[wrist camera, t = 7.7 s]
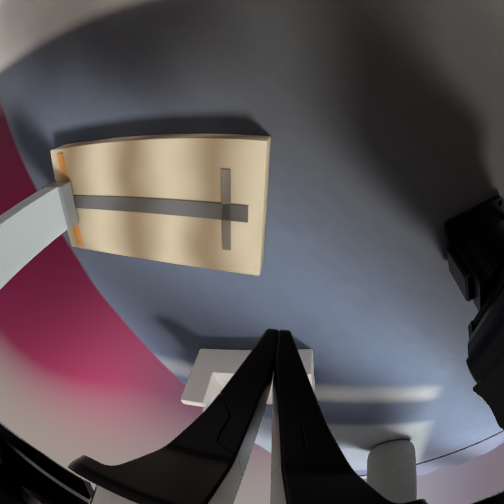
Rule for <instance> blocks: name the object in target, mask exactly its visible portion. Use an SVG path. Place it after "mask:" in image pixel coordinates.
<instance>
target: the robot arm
mask: <svg viewBox="0 0 504 504" xmlns="http://www.w3.org/2000/svg"><path fill="white" fill-rule="evenodd" d="M499 201H500V202H499ZM498 202H499V203H498ZM451 225H452V227H451V228H449V227H450V226H451ZM444 228H445V233H446V237H447V242H448V247H447V249H446V253H447V258H448V264H449V270H450V272H451V274H452V276H453V278H454V280H455V281H456V283H457V285H458V286H459V288H460V290H461V292H462V294H463V296H464V297H465V299H466V300H467V301H471V300H473V301H474V303H475V305H476V307H477V309H478V311H479V312H478V314H477V315H476V317H475V319H474V320H473V321H471V323H470V324H469V326H468V330H469V342H468V356H469V357H468V358H467V360H466V362H467V365H468V368H469V371H470V373H471V375H472V377H473V379H474V380H475V381H476V383H477V384H476V385H475V386H474V387H473V391H474V392H476V393H477V394H478V395H479V396H481V397H482V398H483V399H484V400H485V401H486V403H487V404H488V405H489V406H490V408H491V410H492V412H493V414H494V416H495V418H496V420H497V423H498V425H499V426H500V427H501V428H502V429H503V430H504V199H503V198H502V197H501V196H499V195H498V196H496V197H494V198H492V199H490V200H488V201H486V202H484V203H482V204H480V205H478V206H476V207H474V208H473V209H471V210H469V211H467V212H465V213H463V214H461V215H459V216H456V217H454V218H452V219H450V220H448V221H447V222H446V223H445V226H444ZM278 332H279V333H278ZM273 373H274V374H273ZM272 380H273V383H272ZM271 385H272V461H271V499H270V501H271V502H270V504H428V503H427V502H426V500H425V499H418V500H414V501H409V502H405V503H395V502H392V501H389V500H388V499H386V498H385V497H384V496H382V495H381V494H380V493H379V492H377V491H376V490H375V489H374V488H373V487H371V486H370V485H369V484H368V483H367V482H365V481H364V480H363V479H362V478H361V477H360V476H358V475H357V474H356V473H355V471H354V470H353V469H352V468H351V466H350V465H349V463H348V462H347V460H346V458H345V456H344V455H343V453H342V451H341V449H340V448H339V446H338V444H337V442H336V441H335V439H334V437H333V435H332V433H331V431H330V429H329V427H328V426H327V423H326V421H325V419H324V416H323V414H322V411H321V409H320V406H319V405H318V401H317V399H316V396H315V393H314V391H313V388H312V386H311V383H310V380H309V378H308V375H307V373H306V370H305V367H304V365H303V362H302V360H301V357H300V355H299V352H298V349H297V347H296V344H295V342H294V339H293V337H292V334H291V332H290V331H289V330H279V331H278V330H277V329H267V330H266V331H265V333H264V334H263V335H262V337H261V338H260V340H259V341H258V342H257V344H256V345H255V347H254V348H253V349H252V351H251V352H250V353H249V355H248V356H247V357H246V359H245V360H244V362H243V363H242V364H241V366H240V367H239V368H238V370H237V371H236V372H235V374H234V375H233V376H232V377H231V379H230V380H229V381H228V383H227V384H226V385H225V387H224V388H223V389H222V390H221V392H220V394H218V395H217V397H216V398H215V399H214V401H213V402H212V403H211V404H210V405H209V406H208V408H207V409H206V410H205V411H204V412H203V413H202V414H201V415H200V416H199V417H198V418H197V419H196V420H195V421H194V422H193V423H192V424H191V425H190V426H188V427H187V428H186V429H185V430H184V431H183V432H182V433H181V434H179V435H178V436H177V437H176V438H175V439H174V440H173V441H171V442H170V443H169V444H167V445H166V446H165V447H163V448H161V449H159V450H157V451H155V452H153V453H150V454H147V455H145V456H142V457H140V458H137V459H135V460H132V461H129V462H126V463H123V464H120V465H116V466H109V465H104V464H101V463H99V462H98V461H95V460H94V459H92V458H90V457H87V456H85V455H83V456H81V457H80V458H78V459H76V460H75V461H73V462H72V463H70V464H69V466H68V468H69V469H71V470H72V471H74V472H75V473H77V474H78V475H80V476H82V477H84V478H85V479H87V480H89V481H91V482H93V483H95V484H96V488H95V490H94V491H93V488H92V486H91V484H90V483H89V482H88V481H86V480H84V479H82V478H81V477H79V476H77V475H75V474H74V473H72V472H70V471H69V470H67V469H66V468H64V467H63V466H61V465H60V464H58V463H56V462H55V461H53V460H52V459H50V458H49V457H48V456H46V455H45V454H43V453H42V452H40V451H39V450H37V449H36V448H35V447H33V446H32V445H30V444H29V443H27V442H26V441H25V440H23V439H22V438H20V437H19V436H17V435H16V434H15V433H14V432H12V431H11V430H10V429H8V428H7V427H5V426H4V425H3V424H2V423H1V422H0V504H233V503H234V500H235V497H236V494H237V492H238V489H239V486H240V483H241V480H242V477H243V475H244V472H245V469H246V466H247V463H248V460H249V457H250V454H251V451H252V448H253V445H254V442H255V439H256V436H257V433H258V429H259V426H260V423H261V420H262V416H263V413H264V410H265V406H266V403H267V400H268V396H269V393H270V389H271ZM472 504H504V490H503V491H500V492H498V493H496V494H494V495H491V496H489V497H487V498H484V499H482V500H479V501H477V502H474V503H472Z"/></svg>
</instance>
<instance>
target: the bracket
mask: <svg viewBox="0 0 504 504" xmlns="http://www.w3.org/2000/svg"><path fill="white" fill-rule="evenodd" d="M251 351H252V350H221V349H200V350H199V353H198V356H197V358H196V361H195V363H194V366H193V368H192V371H191V373H190V376H189V379H188V381H187V384H186V386H185V389H184V392H183V394H182V397H181V401H182V402H183V403H184V404H189V405H194V406H201V407H203V412H204V411H205V410H206V409H207V408H208V406H209V405H210V404H211V403H212V402H213V401H214V399H215V398H216V397H217V395H218V394H220V392H221V390H222V389H223V388H224V387H225V385H226V384H227V383H228V381H229V380H230V379H231V377H232V376H233V375H234V374H235V372H236V371H237V370H238V368H239V367H240V366H241V364H242V363H243V362H244V360H245V359H246V357H247V356H248V355H249V353H250V352H251ZM298 352H299V355H300V357H301V360H302V362H303V365H304V367H305V370H306V373H307V375H308V378H309V380H310V383H311V386H312V388H313V391H314V393H315V379H314V362H313V352H312V349H298ZM273 374H274V373H273ZM272 383H273V380H272ZM266 404H272V385H271V389H270V393H269V396H268V400H267V403H266Z"/></svg>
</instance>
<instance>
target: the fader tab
mask: <svg viewBox="0 0 504 504" xmlns="http://www.w3.org/2000/svg"><path fill="white" fill-rule="evenodd" d="M78 223H79V219H78V215H77V211H76V207H75V203H74V198H73V193H72V188H71V183H70V182H51V183H49V184H47V185H45V186H44V187H42V189H41V190H39V191H38V192H36V193H34V194H33V195H31V196H30V197H28V198H26V199H25V200H23V201H22V202H20V203H19V204H17V205H16V206H14V207H13V208H11V209H10V210H8V211H7V212H5V213H4V214H2V215H1V216H0V289H1V288H2V287H3V286H4V285H5V284H6V283H7V282H8V281H9V280H10V279H11V278H12V277H13V276H14V275H15V274H16V273H17V272H18V271H19V270H20V269H21V268H22V267H23V266H25V265H26V264H27V263H28V262H29V261H30V260H31V259H32V258H33V257H35V256H36V255H37V254H38V253H39V252H40V251H41V250H42V249H44V248H45V247H46V246H47V245H48V244H50V243H51V242H52V241H53V240H54V239H56V238H57V237H58V236H59V235H61V234H62V233H63V232H64V231H66V230H67V229H72V228H73V227H75V226H76V225H77V224H78Z"/></svg>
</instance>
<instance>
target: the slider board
mask: <svg viewBox="0 0 504 504" xmlns="http://www.w3.org/2000/svg"><path fill="white" fill-rule="evenodd" d="M270 143H271V136H260V135H241V134H161V135H143V136H129V137H118V138H109V139H100V140H92V141H85V142H78V143H71V144H65V145H62V146H60V147H58V148H55V149H53V150H50V152H51V158H52V164H53V170H54V176H55V181H56V182H70V183H71V188H72V193H73V198H74V203H75V207H76V211H77V215H78V219H79V223H78V224H77V225H76V226H75V227H73V228H72V229H67V230H68V234H69V237H70V241H71V244H72V246H73V247H78V248H84V249H90V250H95V251H101V252H107V253H113V254H119V255H125V256H131V257H137V258H143V259H149V260H156V261H162V262H168V263H175V264H181V265H188V266H195V267H201V268H208V269H215V270H222V271H229V272H236V273H243V274H250V275H258V276H260V272H261V268H262V265H263V260H264V245H265V229H266V213H267V197H268V179H269V162H270Z"/></svg>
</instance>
